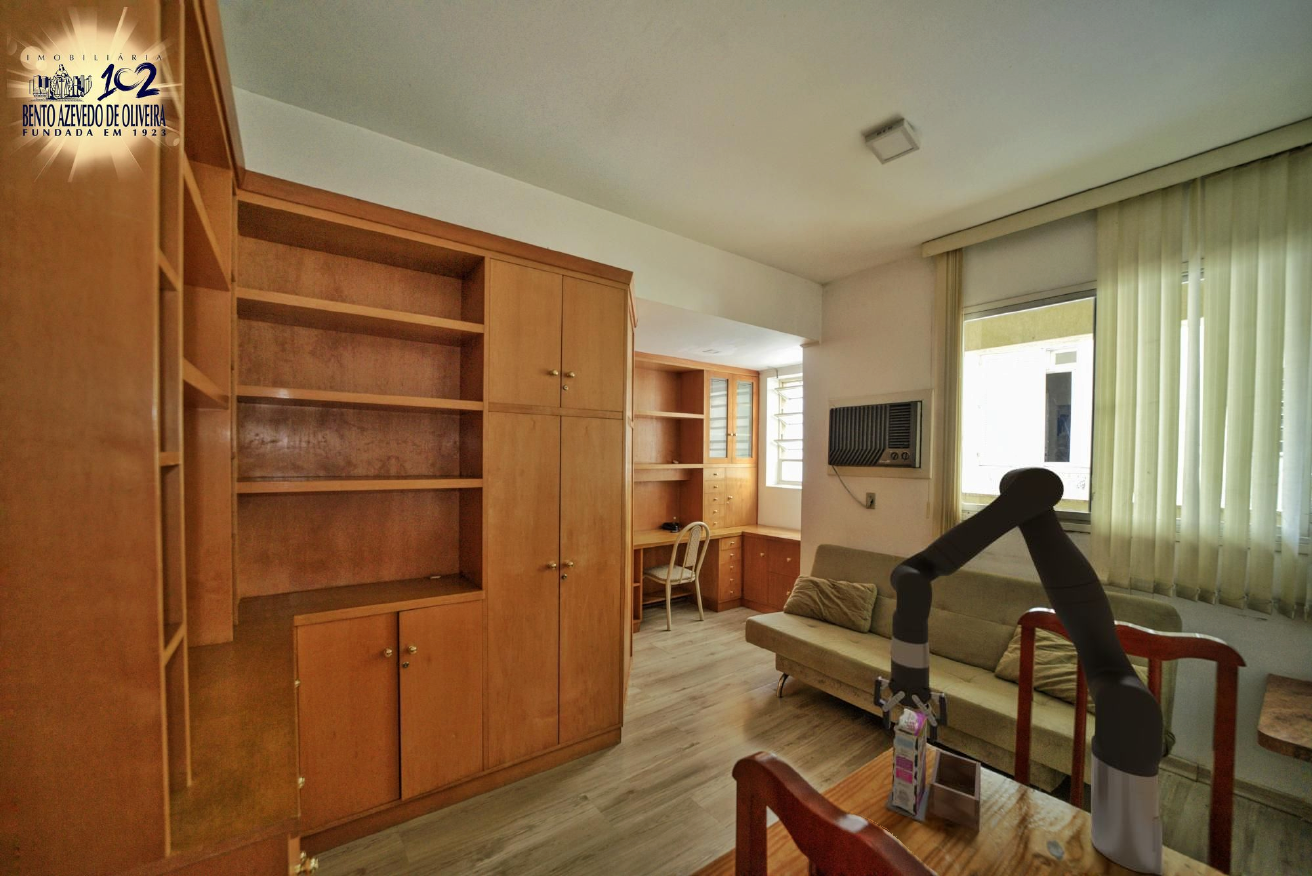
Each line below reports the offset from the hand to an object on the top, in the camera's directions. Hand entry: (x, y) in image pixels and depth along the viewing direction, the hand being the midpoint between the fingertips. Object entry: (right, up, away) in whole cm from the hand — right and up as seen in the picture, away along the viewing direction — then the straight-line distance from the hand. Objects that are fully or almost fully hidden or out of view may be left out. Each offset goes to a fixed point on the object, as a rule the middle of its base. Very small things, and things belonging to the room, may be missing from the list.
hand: (909, 734), depth 106 cm
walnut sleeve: (+10, -14, -1) cm, 17 cm away
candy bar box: (0, -14, 0) cm, 14 cm away
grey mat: (0, -14, 0) cm, 14 cm away
